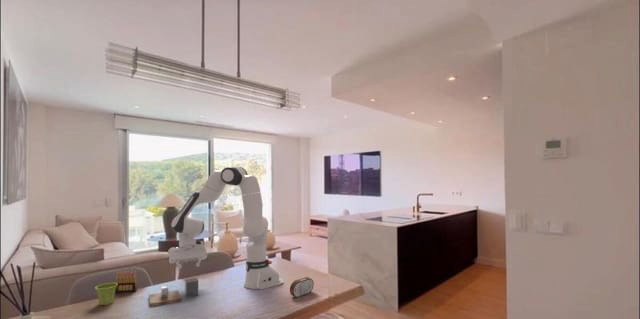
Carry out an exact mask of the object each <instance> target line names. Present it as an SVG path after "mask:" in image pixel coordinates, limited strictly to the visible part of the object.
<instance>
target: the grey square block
mask: <svg viewBox="0 0 640 319" xmlns="http://www.w3.org/2000/svg"><path fill="white" fill-rule="evenodd" d="M184 296H185V297H186V298H190V297H195V296H199V280H198V278H197V277H193V278H186V279H184Z"/></svg>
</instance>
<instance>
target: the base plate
mask: <svg viewBox="0 0 640 319" xmlns="http://www.w3.org/2000/svg"><path fill="white" fill-rule="evenodd" d="M148 299H149V308H151V307H157V306H161V305H167V304H168V305H169V304H173V303H178V302H182V296H181V294H180V292H179V289H176V290H170V291H169V290H168V297H164V298H162V297H161V292H158V293H157V292H156V293H151V294H148Z"/></svg>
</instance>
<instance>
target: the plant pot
mask: <svg viewBox="0 0 640 319" xmlns="http://www.w3.org/2000/svg"><path fill="white" fill-rule="evenodd" d="M117 285H118V284H117V283H116V282H109V283H103V284H99V285H96V286H95V287H94V288H95V291H96V293H97V300H98V305H99V306H108V305H110V304H111V305H112V303H114V301H115V296H116V293H115V290H116V287H117Z"/></svg>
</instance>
